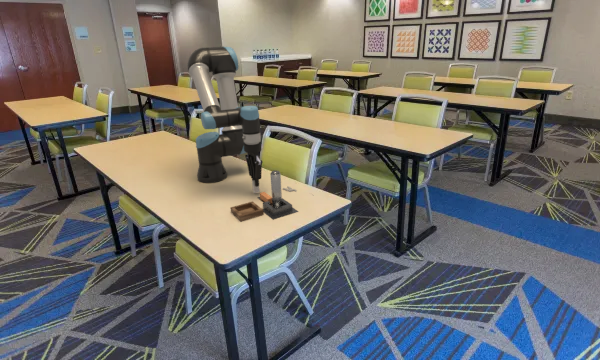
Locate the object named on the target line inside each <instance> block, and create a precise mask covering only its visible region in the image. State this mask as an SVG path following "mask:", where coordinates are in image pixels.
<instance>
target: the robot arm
mask: <svg viewBox="0 0 600 360" xmlns="http://www.w3.org/2000/svg"><path fill="white" fill-rule="evenodd" d="M238 70H239V59H238V55H237V53H236V51H235V50H234V48H232V47H231V46H211V47H199V48H198V49H197V48H196V50H194V51H193V52H192V53H191V54H190V56H189V58H188V60H187V72H188V75H189V77H190V78H192V80H193V83H194V86H195V90H196V92H197V96H198V98H199V101H200V104H201V107H202V111H203V112H201V114H200V122H201V125H202V127H203V129H204V130H215V129H221V134H219V132H218V131H208V132H204V133H202V134H200V135H197V137H196V138H195V148H196V151H197V153H196V154H197V159H198V160H197V161H198V168H197V173H196V174H197V175H196V176H197V178H196V179H197V181H198V182H199V183H204V184H209V183H210V184H211V183H218V182H221V181H224V180H225V179H227V177H228V171H227V170H226V168H225V166H224V164H223V159H222V158H225V157H231V156H237V155H238V156H240V155H243V154H245V155H244V156H245V160H246V164H247V166H246V167H247V169H248V170H247V171H248V175H249V177H250V178H251V182H252V183H251V184H252V192H253V194H256V193H261V192H260V191H261V189H260V188H261V187H260V180H261V179H262V171H263V170H262V168H263V167H262V166H263V160H261V159H260V154H259V152H261V151H262V143H261V141H262V137H261V127H260V125H261V124H260V113H259V112H260V111H259V108H258V106H255V105H245V106H239V105H238V99H237V92H236V85H235V76H236V74H237V71H238ZM210 73H212V74H211V75H212V77H213V78H214V79H216V84H217V86H216V87H217V92H218V97H219V100H218V97H217V95H216V91H215V88H214V85H213V83H212V80H211V78H210V77H211V76H210V75H209V74H210Z"/></svg>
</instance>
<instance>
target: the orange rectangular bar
mask: <svg viewBox="0 0 600 360" xmlns="http://www.w3.org/2000/svg"><path fill="white" fill-rule="evenodd" d="M259 197H260V198H261V199H262V200H263V201H265V202H267V201H269V202H270V204H271V203H272V195H269V194H268V193H267V192H266V191H261V192H259Z"/></svg>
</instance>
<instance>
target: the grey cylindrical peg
mask: <svg viewBox="0 0 600 360" xmlns="http://www.w3.org/2000/svg"><path fill="white" fill-rule="evenodd" d="M269 174H270V186H271V197H272V205H273V208H277V207H281V206H282V198H283V196H282V179H281V178H282V177H281V175H282V174H281V172H280V171H279V170H272V171H271V172H270V173H269Z"/></svg>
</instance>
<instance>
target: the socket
mask: <svg viewBox="0 0 600 360" xmlns="http://www.w3.org/2000/svg"><path fill="white" fill-rule="evenodd" d="M256 199H258V200H260V202H262V209H263V212H264V215H266V216H267V217H269V218H270V219H271V220H272V221H274V220H277V219H280V218H283V217H286V216H290V215H292V214H297V213H299V211H298V210H297V209H296V208H294V207H293V204H291V202H288V201H287V200H286V199H284V198H283V197H282V206H281V207H277V208H273V205H272V203H271V204H270V202H269V201H267V202H265V201H263V200H262V199H261V198H260V196H257V197H256Z"/></svg>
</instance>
